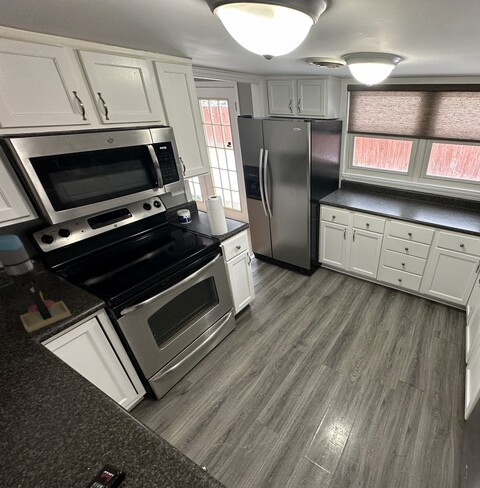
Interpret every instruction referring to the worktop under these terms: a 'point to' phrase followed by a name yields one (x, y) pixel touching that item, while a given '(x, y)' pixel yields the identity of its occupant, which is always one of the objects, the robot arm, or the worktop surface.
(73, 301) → the worktop surface
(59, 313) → the tray
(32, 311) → the cupcake
